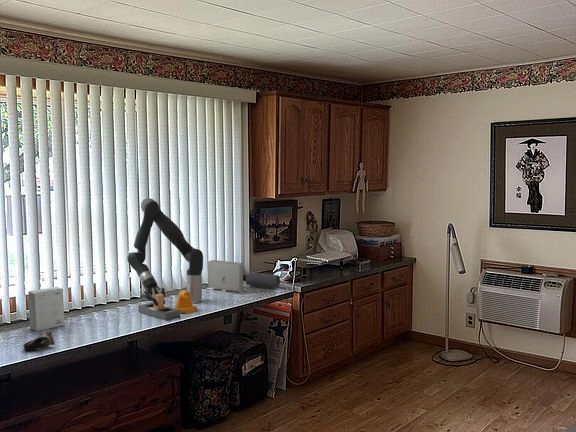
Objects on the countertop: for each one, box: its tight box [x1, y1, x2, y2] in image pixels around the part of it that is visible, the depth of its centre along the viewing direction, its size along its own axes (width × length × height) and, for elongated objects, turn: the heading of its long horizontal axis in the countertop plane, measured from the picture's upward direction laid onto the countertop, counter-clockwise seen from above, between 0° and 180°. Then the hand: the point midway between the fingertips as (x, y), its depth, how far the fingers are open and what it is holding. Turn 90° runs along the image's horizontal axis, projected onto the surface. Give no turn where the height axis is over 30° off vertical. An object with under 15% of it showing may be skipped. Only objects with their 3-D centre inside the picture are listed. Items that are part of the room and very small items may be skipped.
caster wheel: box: [22, 331, 56, 352], centre depth 278 cm, size 7×11×10 cm
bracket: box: [174, 290, 198, 314], centre depth 346 cm, size 11×7×12 cm, turn 134°
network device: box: [207, 259, 244, 295], centre depth 399 cm, size 26×9×20 cm, turn 62°
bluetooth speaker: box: [244, 272, 281, 290], centre depth 411 cm, size 23×9×10 cm, turn 66°
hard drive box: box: [27, 286, 65, 332], centre depth 313 cm, size 16×8×20 cm, turn 135°
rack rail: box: [137, 302, 181, 322], centre depth 339 cm, size 26×10×4 cm, turn 48°
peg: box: [154, 294, 165, 309], centre depth 339 cm, size 4×4×10 cm
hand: (160, 304), depth 338 cm, fingers closed on peg, 4 cm apart
